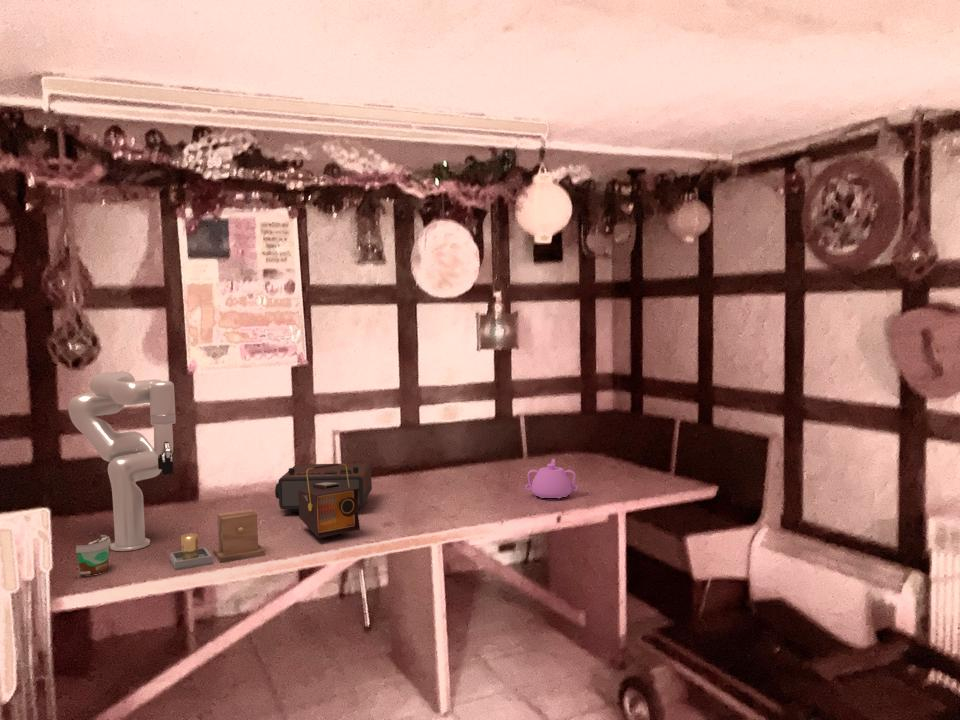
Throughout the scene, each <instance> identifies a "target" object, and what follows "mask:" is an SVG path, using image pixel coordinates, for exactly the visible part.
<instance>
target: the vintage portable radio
mask: <svg viewBox="0 0 960 720" xmlns="http://www.w3.org/2000/svg"><path fill="white" fill-rule="evenodd" d="M333 464H334V465H327V466H320V467H314V469H316V468H323V467H329V466H336V465H340V464H341V463H333ZM343 465H345V464H343ZM345 467H346V473H347V480H348V472H347V466H346V465H345ZM310 469H313V468H310ZM308 470H309V469H308ZM308 470H307V472H308ZM307 472H306V475H307V483H308V489H303V490H298V494H299V512H298V515H299V519H300V520H301V521H302V523H304V524H305V525H306V527H308V529H309V530H310V531H311V532H312V533H313V534H314V535H315V537H316V538H318V539H322V538H324V539H325V538H326V537H330V536H335V535H339V534H345V533H350V532H355V531H360V530H361V526H360V519H359V509H358V492H359V488H350V487H349V480H348V488H347V487H340V483H331V482H323V483H317V484H313V488H309V482H308V474H307ZM357 509H358V510H357Z"/></svg>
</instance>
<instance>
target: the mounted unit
mask: <svg viewBox="0 0 960 720" xmlns="http://www.w3.org/2000/svg"><path fill="white" fill-rule="evenodd" d="M216 515H217V531H218V532H217V534H218V535H217V537H218V547H215V548H213V549H212V550H213V551H212V553H213V554H214V556H215V557H216V559H217V560H218V561H219V563H220V564H221V563H222V564H223V563H226V562H227V563H228V562H234V561H239V560H240V561H241V560H246V559H250V558H256V557H262V556H265V555H266V554H265V552H266V551H265V550H264V549H263V548H262V547H261V545H260V544H259V534H258V530H259V529H258V528H259V527H258V514H257V512H255V511H254V510H253V509H252V508H247V509H241V510H233V511H226V512H221V513H220V512H218V513H217V514H216Z"/></svg>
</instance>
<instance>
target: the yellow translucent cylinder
mask: <svg viewBox="0 0 960 720" xmlns="http://www.w3.org/2000/svg"><path fill="white" fill-rule="evenodd" d="M198 538H199V537H198V533H193V532H192V533H191V532H190V533H185V534H182V535H181V536H180V544H181V551H182V560H187V559H193V558H199V551H198V548H199V539H198Z"/></svg>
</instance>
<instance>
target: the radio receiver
mask: <svg viewBox="0 0 960 720" xmlns="http://www.w3.org/2000/svg"><path fill="white" fill-rule="evenodd" d="M334 464H335V463H307V464H306V463H305V464H301V463H300V464H295V465H294V466H292V467H290V468H288V471H287V472H285V474H283V475H282V476H281V477H280V478H279V479H278V482H277V483H276V484H275V490H274V493H275V494H274V495H275V498H276V499H278V506H279V508H280V509H281V510H287V511H288V512H290V513H294V512H298V513H299V494H298V490H303V489H308V483H307V475H306V472H307V470H308V469H309V470H308V472H307V474H308V482H309V488H313V484H317V483H323V482H331V483H340V487H347V488H348V480H349V487H350V488H359V492H358V509H357V510H358V511H359V510H360V509H361V508H363V506H364V505H365V503H366V500H368V499H367V498H368V496H369V495H370V494H371V492H372V489H373V486H372V482H373V480H372V465H371V464H370V463H369V462H355V463H354V462H349V463H339V464H340V465H336V466H329V467H323V468H316V469H314V467H320V466H327V465H334ZM343 464H345V465H346V466H347V472H348V480H347V473H346V467H345V465H343ZM310 468H313V469H310Z"/></svg>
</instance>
